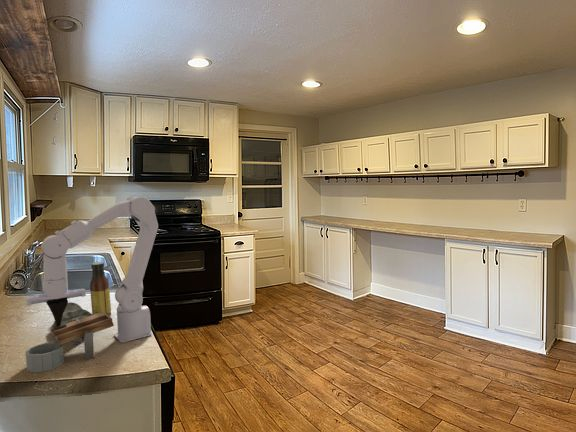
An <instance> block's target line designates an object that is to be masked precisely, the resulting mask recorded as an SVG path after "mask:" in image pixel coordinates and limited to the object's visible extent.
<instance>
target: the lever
mask: <svg viewBox="0 0 576 432" xmlns="http://www.w3.org/2000/svg"><path fill="white" fill-rule="evenodd" d="M114 326H115V325H114V322H113V318H112V317H111V315H110V316H109V315H108V314H105V315H104V314H103V313H102V312H101V313H97V314H94V315H91V316H88V317H85V318H82V319H79V320H78V319H76V320H75V321H72V322H69V323H66V324H65V322H64V321H62V322H61V325H60V326H56V324H53V323H52V324H51V328H50V329H49V330H50V332H51V334H52V336H53V337H54V339H55V342H57V343H58V344H59V345H61V344H62V345H63V344H66V343H70V342H73V340H75V339H78V338H81V339H82V338H84V333H85V332H90V331H92V332H93V334H94V333H98V332H100V331H103V330H107V329H108V328H111V327H114Z"/></svg>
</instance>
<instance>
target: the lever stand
mask: <svg viewBox="0 0 576 432" xmlns="http://www.w3.org/2000/svg"><path fill="white" fill-rule="evenodd" d="M76 319H78V320H79V319H80V318H74V319H72V321H75V320H76ZM72 343H73V345H77V344H82V343H84V346H83V347H84V360H85V361H86V362H88V361H91V360H95V347H94V333H93V332H92V331H90V332H85V333H84V337H83V342H82V337H81V338H78V339H75V340H72Z"/></svg>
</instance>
